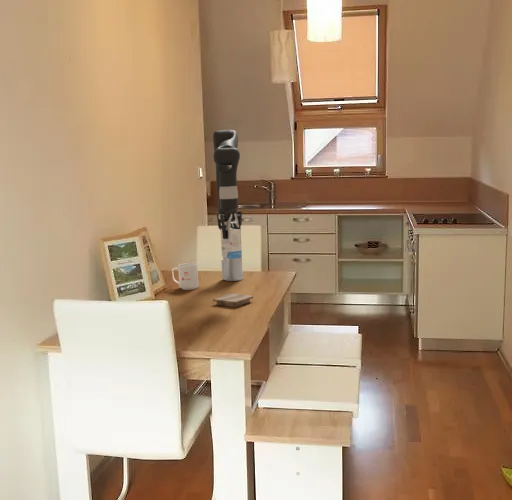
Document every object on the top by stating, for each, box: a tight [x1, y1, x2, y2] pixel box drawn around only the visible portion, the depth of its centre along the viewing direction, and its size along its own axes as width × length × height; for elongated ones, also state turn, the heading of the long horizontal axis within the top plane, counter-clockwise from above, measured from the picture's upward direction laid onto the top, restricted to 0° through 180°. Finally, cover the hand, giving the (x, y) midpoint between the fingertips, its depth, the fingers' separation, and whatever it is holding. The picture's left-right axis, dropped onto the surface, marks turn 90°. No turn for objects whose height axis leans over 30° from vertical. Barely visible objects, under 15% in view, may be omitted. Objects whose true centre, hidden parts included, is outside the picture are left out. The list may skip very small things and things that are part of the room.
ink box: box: [220, 223, 242, 259], centre depth 280 cm, size 8×5×15 cm, turn 34°
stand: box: [212, 292, 254, 308], centre depth 284 cm, size 12×12×2 cm
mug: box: [171, 262, 199, 291], centre depth 316 cm, size 12×9×11 cm
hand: (230, 237), depth 280 cm, fingers closed on ink box, 6 cm apart
